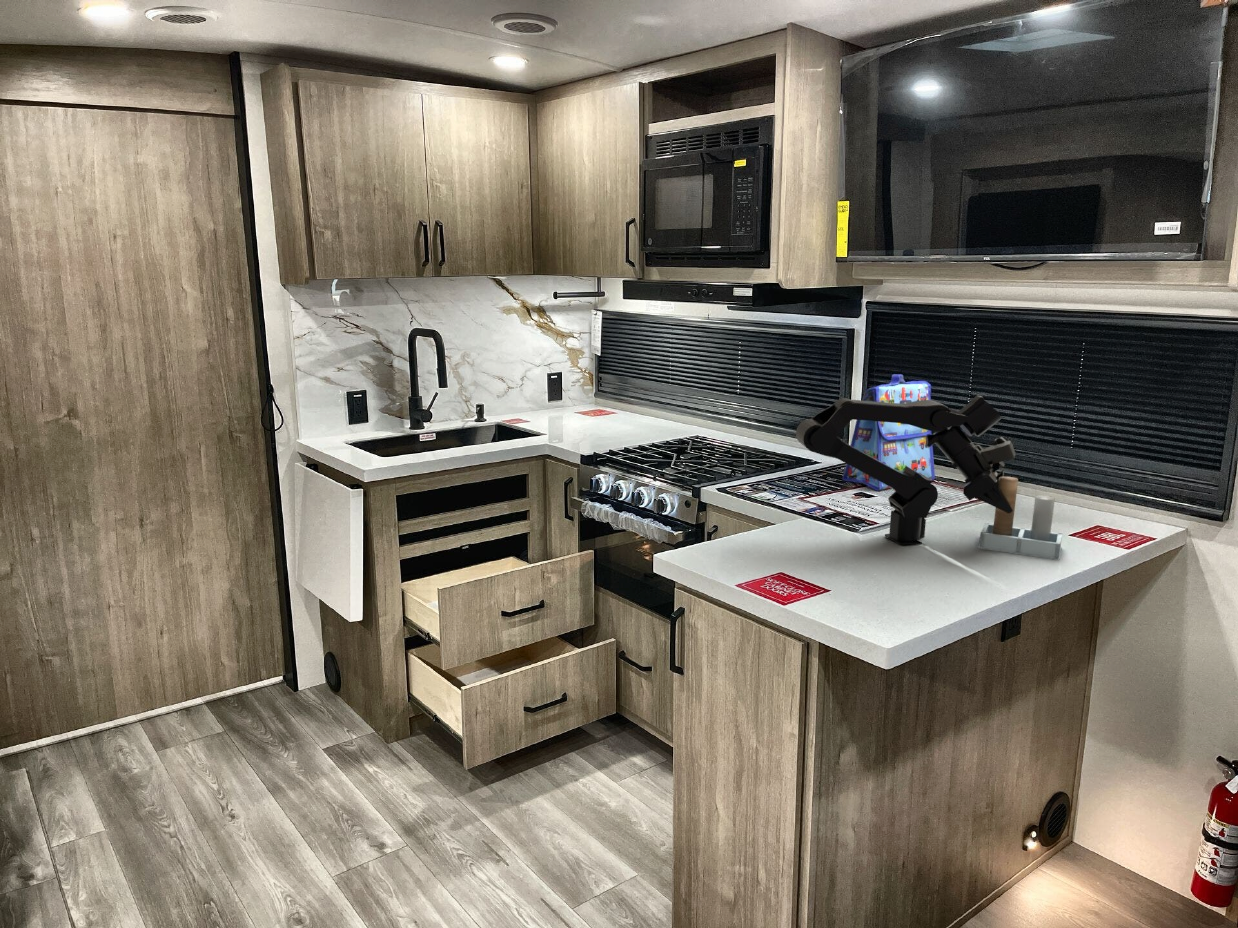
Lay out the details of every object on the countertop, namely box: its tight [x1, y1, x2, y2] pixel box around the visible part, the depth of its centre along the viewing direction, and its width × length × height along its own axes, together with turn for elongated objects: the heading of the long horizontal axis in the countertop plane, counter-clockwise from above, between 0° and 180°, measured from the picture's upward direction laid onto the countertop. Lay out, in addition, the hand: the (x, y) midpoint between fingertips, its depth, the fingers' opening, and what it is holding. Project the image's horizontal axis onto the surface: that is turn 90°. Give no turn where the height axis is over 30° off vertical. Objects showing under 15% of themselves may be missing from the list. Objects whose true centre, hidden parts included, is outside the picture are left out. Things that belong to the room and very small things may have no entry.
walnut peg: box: [993, 476, 1019, 536], centre depth 184 cm, size 4×4×13 cm
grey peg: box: [1030, 495, 1056, 542], centre depth 181 cm, size 4×4×11 cm
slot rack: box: [977, 522, 1063, 561], centre depth 183 cm, size 15×9×4 cm, turn 62°
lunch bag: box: [842, 373, 936, 491], centre depth 236 cm, size 22×14×29 cm, turn 122°
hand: (1012, 509), depth 183 cm, fingers closed on walnut peg, 3 cm apart
